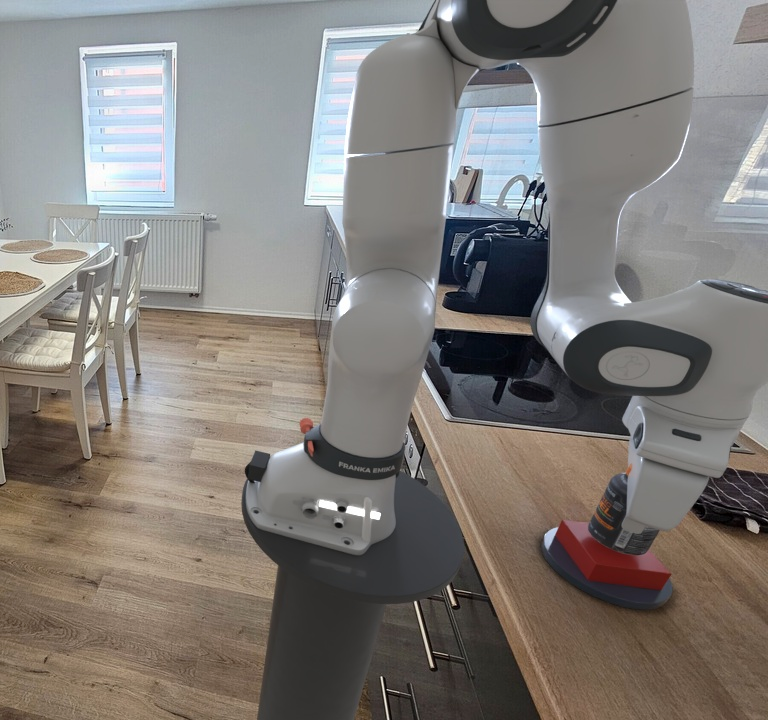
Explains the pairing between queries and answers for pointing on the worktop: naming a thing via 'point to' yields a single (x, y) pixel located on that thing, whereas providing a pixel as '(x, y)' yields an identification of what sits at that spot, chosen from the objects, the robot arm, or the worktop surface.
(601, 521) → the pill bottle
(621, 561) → the red block
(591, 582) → the plate
